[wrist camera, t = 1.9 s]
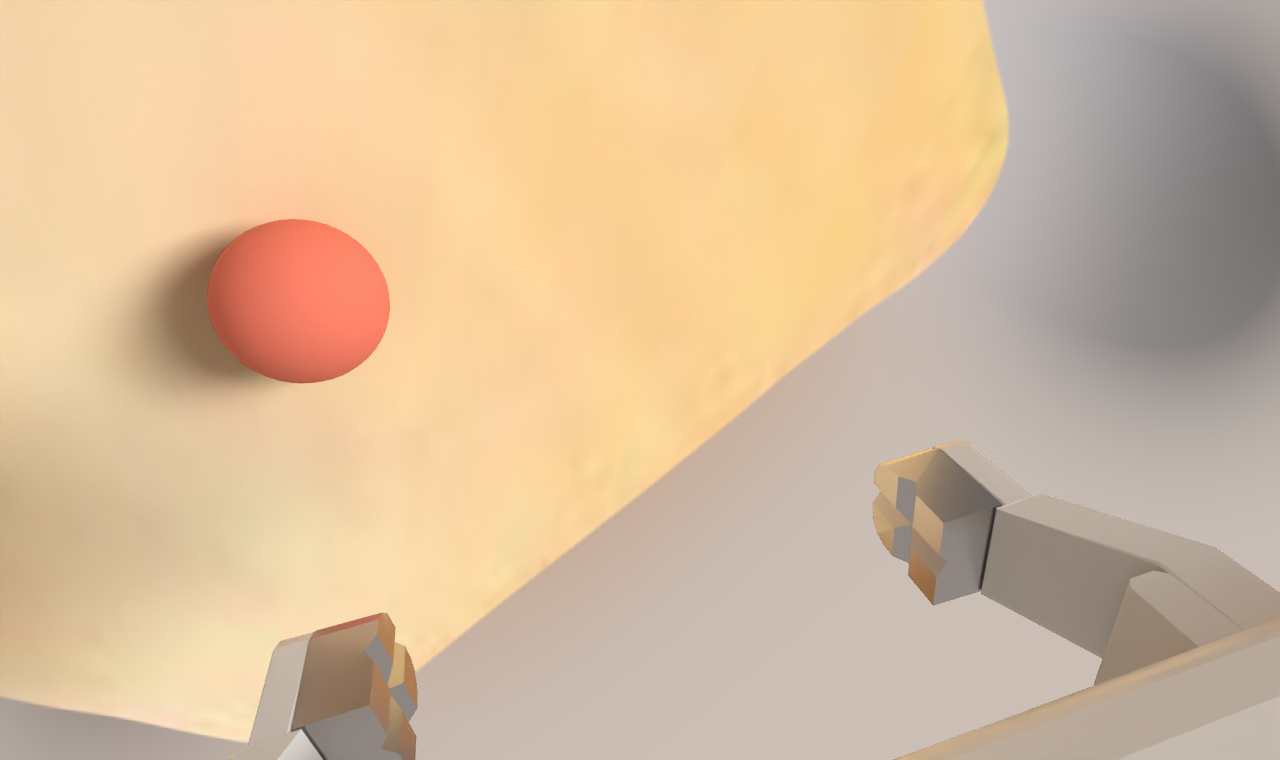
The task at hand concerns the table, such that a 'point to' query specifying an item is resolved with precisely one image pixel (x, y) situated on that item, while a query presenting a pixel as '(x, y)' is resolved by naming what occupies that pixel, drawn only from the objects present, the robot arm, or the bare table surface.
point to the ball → (298, 301)
